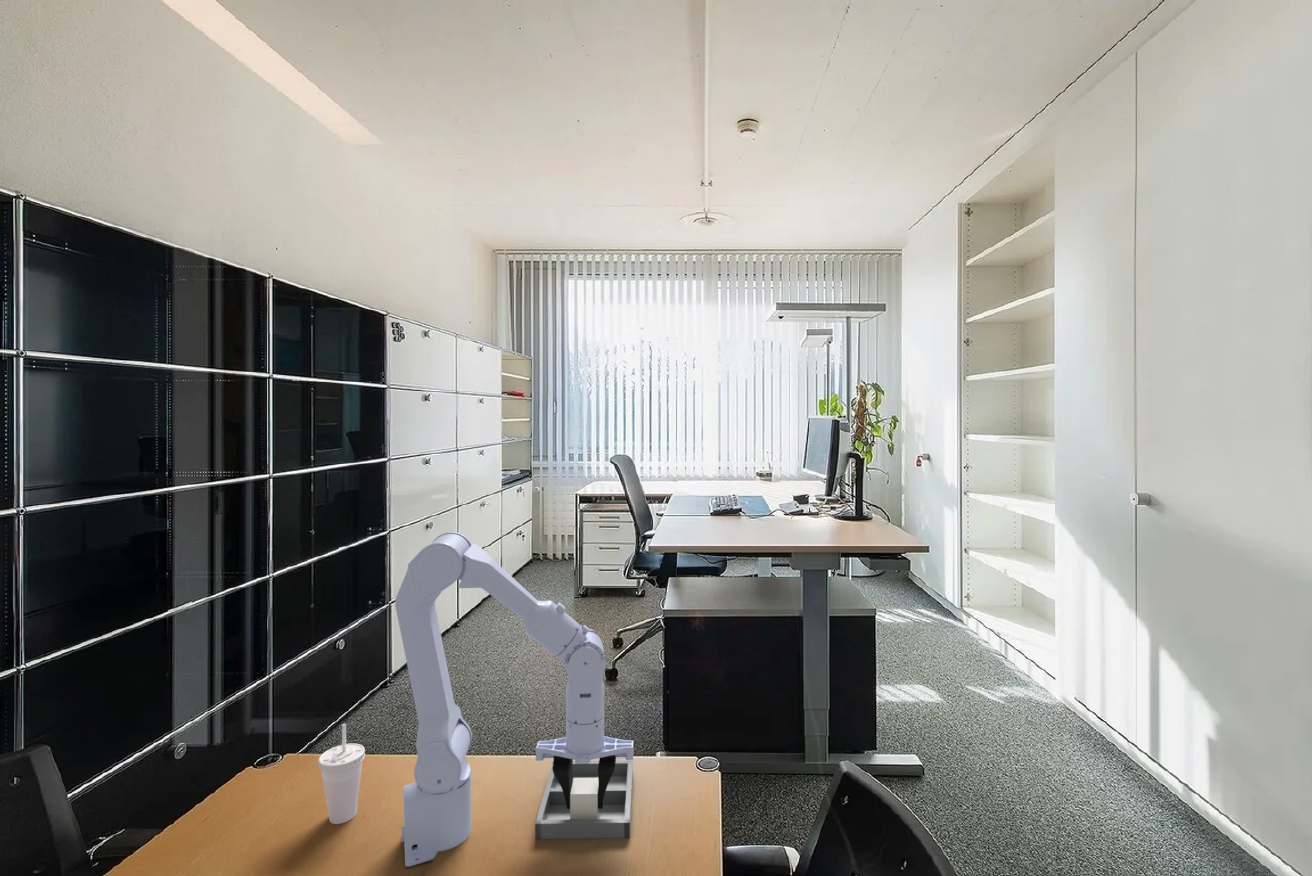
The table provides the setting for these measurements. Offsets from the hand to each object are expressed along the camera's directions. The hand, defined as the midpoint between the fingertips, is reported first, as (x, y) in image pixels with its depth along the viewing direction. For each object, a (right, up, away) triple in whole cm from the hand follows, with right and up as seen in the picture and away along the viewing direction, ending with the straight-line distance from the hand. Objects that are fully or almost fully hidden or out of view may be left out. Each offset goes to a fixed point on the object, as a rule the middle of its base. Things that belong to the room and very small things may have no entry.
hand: (585, 804), depth 88 cm
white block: (0, -1, 0) cm, 1 cm away
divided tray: (0, -3, +4) cm, 5 cm away
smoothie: (-38, -3, +2) cm, 38 cm away
